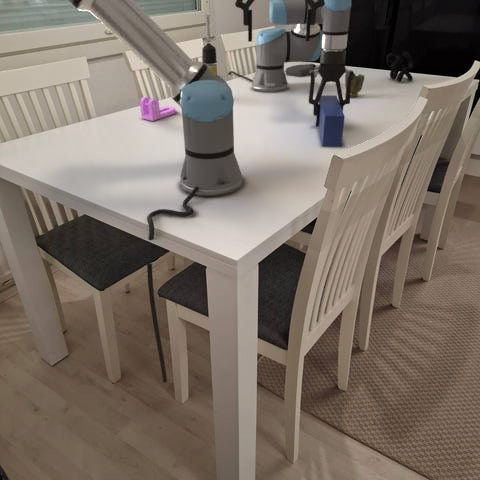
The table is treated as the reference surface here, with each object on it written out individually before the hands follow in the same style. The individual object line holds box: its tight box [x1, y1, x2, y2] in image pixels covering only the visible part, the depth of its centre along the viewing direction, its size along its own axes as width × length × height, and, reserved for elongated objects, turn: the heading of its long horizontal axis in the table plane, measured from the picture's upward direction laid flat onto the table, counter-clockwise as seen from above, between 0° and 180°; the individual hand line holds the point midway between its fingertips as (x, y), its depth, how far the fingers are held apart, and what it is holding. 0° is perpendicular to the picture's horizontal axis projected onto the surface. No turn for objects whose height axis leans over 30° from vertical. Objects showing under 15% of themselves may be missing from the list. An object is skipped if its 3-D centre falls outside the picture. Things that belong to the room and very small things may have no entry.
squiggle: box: [385, 51, 414, 83], centre depth 198 cm, size 11×10×15 cm
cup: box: [344, 73, 365, 98], centre depth 176 cm, size 8×7×8 cm
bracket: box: [139, 96, 176, 122], centre depth 158 cm, size 13×6×7 cm, turn 143°
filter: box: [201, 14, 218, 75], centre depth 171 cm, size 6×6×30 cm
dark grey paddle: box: [284, 62, 320, 77], centre depth 219 cm, size 3×11×24 cm
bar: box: [317, 94, 345, 147], centre depth 138 cm, size 23×6×9 cm, turn 175°
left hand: (278, 40), depth 106 cm, fingers open, 13 cm apart
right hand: (326, 125), depth 146 cm, fingers closed on bar, 5 cm apart
